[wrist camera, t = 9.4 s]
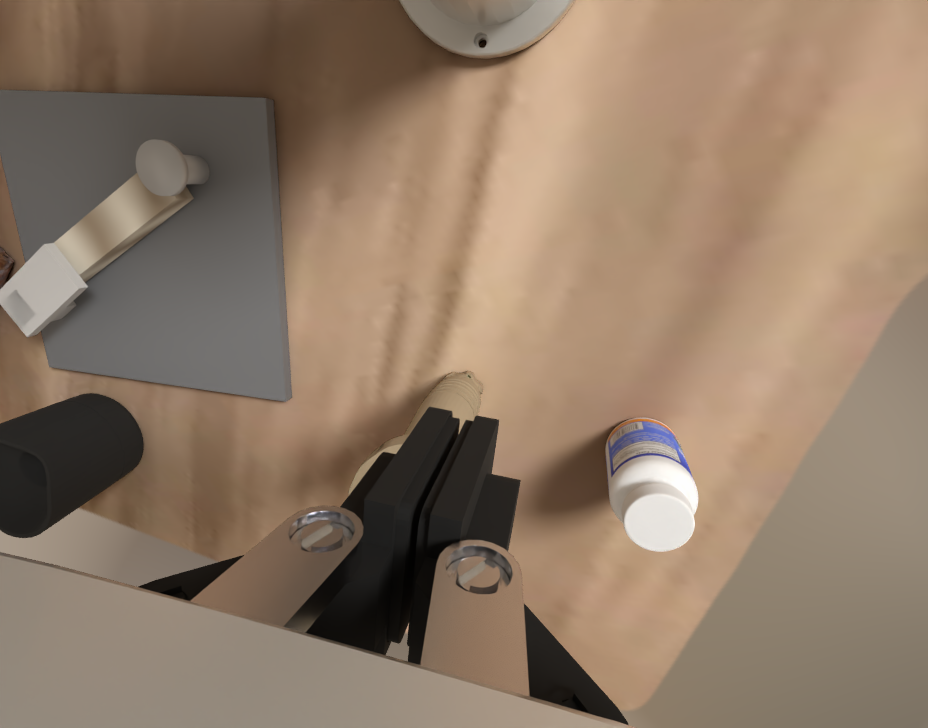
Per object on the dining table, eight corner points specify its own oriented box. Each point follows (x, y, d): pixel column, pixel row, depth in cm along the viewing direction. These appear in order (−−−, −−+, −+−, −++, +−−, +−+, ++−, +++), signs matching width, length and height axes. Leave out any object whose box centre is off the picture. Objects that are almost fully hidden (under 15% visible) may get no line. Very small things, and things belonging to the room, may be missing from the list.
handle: (514, 388, 39) (479, 496, 26) (452, 431, 42) (390, 551, 28) (475, 340, 39) (418, 424, 25) (415, 386, 41) (332, 485, 27)
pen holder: (145, 399, 48) (41, 449, 38) (153, 484, 51) (58, 550, 42) (60, 378, 49) (-61, 422, 40) (72, 462, 52) (-37, 521, 43)
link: (170, 161, 38) (151, 160, 36) (194, 198, 39) (176, 198, 37) (56, 255, 43) (35, 258, 41) (78, 287, 43) (58, 291, 42)
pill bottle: (671, 483, 39) (699, 571, 30) (599, 473, 40) (606, 554, 31) (685, 419, 37) (719, 492, 28) (609, 410, 38) (619, 477, 29)
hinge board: (-2, 91, 41) (-73, 79, 36) (273, 100, 36) (230, 87, 32) (59, 363, 48) (6, 381, 44) (292, 397, 44) (259, 420, 40)
